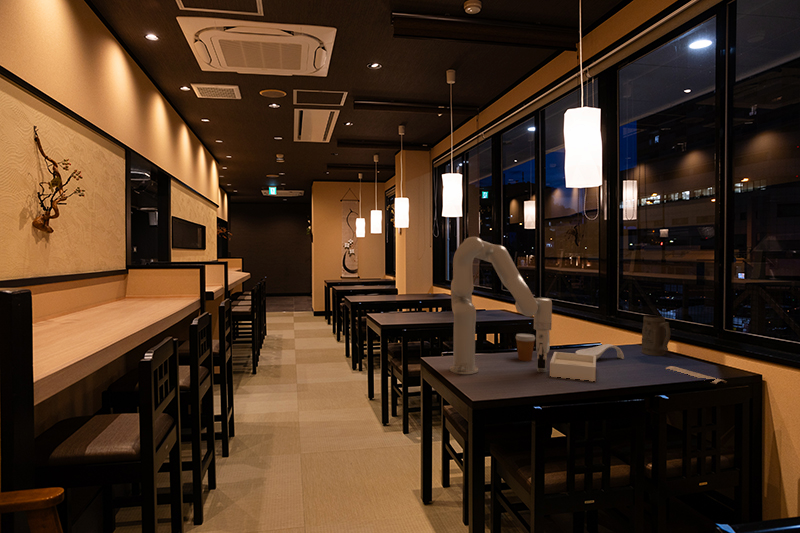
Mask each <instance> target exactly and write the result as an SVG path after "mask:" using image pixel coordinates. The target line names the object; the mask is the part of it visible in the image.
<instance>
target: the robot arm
mask: <svg viewBox="0 0 800 533" xmlns="http://www.w3.org/2000/svg"><path fill="white" fill-rule="evenodd" d="M475 258H476V259H479V260H483V261H485V262H488V263H491V265H492V267H493V269H494V270H495V272H496V273H497V274H496V275H497V276H498V277H499V279H500V281H501V283H502V284H503V286H504V287H505V288H506V289H507V290H508V292H510V294H511V295H512V297H513V298H514V300H515V303H514V304H515V305H514V307H515V309H516V311H517V312H518V313H520V314H521V315H523V316H526V317H533V330H536V332H535V349H536V350H535V351H536V353H537V352H538V364H537V363H536V364H537V365H536V368H537V367H538V368H543V369H544V368H545V352H546V353H547V354H548V353H549V352H550V331H552V321H553V320H552V316H553V314H552V313H553V302H552V299H550V298H549V297H547V298H546V297H534V295H533V293H532V291H531V289H530V288H529V286H528V285H527V284H526V282H525V280H524V278H523V277H522V275H521V273H520V272H519V269H517V267H516V264H515V262H514V261H513V258H512V256H511V255H510V253H509V251H508V250H507V248H506V247H505V246H503V245H501V244H493V243H490V242H488V241H484V240H482V238H480V237H478V236H470V237H469V236H468V237H467V238H465V239H464V240H463V241H462V243H461V244H460V245H459V246H458V247H457V249H456V250H455V252H454V255H453V259H452V268H453V270H452V279H451V283H450V295H451V297H450V299H451V309H452V313H453V352H452V353H453V365H452V366H451V365H450V367H449V371H450V372H451V373H453V374H457V375H474V374H478V372H479V367H477V366H476V322H477V310H476V307H475V305H474V303H473V299H472V298H473V294H472V293H473V292H474V287H475V286H474V278H473V277H474V276H473V263H474V260H475ZM542 351H544V352H542Z"/></svg>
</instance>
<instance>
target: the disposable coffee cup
mask: <svg viewBox="0 0 800 533" xmlns="http://www.w3.org/2000/svg"><path fill="white" fill-rule="evenodd" d="M515 340H516V347H517V348H516V349H517V350H516V351H517V358H518V360H519V361H521V362H522V361H523V362H530V361H532V359H533V354H534V346H535V342H536V335H534V334H531V333H516V335H515Z"/></svg>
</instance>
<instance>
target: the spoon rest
mask: <svg viewBox="0 0 800 533" xmlns="http://www.w3.org/2000/svg"><path fill="white" fill-rule="evenodd" d="M610 348H611V349H612V348H613V349H615V350H616V355H617V356H616V358H619V359H621V360H624V359H625V356H624V353H623V351H622V349H621V348H620V347H618V346H616V345H614V344H609V343H606V344H601V345H598V346H597V345H596V346H593V347H589V348H583V349H578V350H576V351H575V353H574V354H584V355H595V356H596V360H598V359H599V358H600V357H601V356H602V355H603V353H604V352H606V351H607V350H608V349H610Z"/></svg>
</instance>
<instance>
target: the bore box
mask: <svg viewBox="0 0 800 533" xmlns="http://www.w3.org/2000/svg"><path fill="white" fill-rule="evenodd" d="M596 365H597V359H596V356H595V355H584V354H576V353H572V352H561V351H560V352H559V351H554V352H553V355H552V357H551V359H550V361H549V377H550V376H551V377H550V378H557V377H561V378H560V379H566V378H570V379H569V380H575V379H580V380H579V381H584V380H589V381H588V382H593V381H595V382H596V375H597V374H596V369H597V368H596V367H597V366H596Z"/></svg>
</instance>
